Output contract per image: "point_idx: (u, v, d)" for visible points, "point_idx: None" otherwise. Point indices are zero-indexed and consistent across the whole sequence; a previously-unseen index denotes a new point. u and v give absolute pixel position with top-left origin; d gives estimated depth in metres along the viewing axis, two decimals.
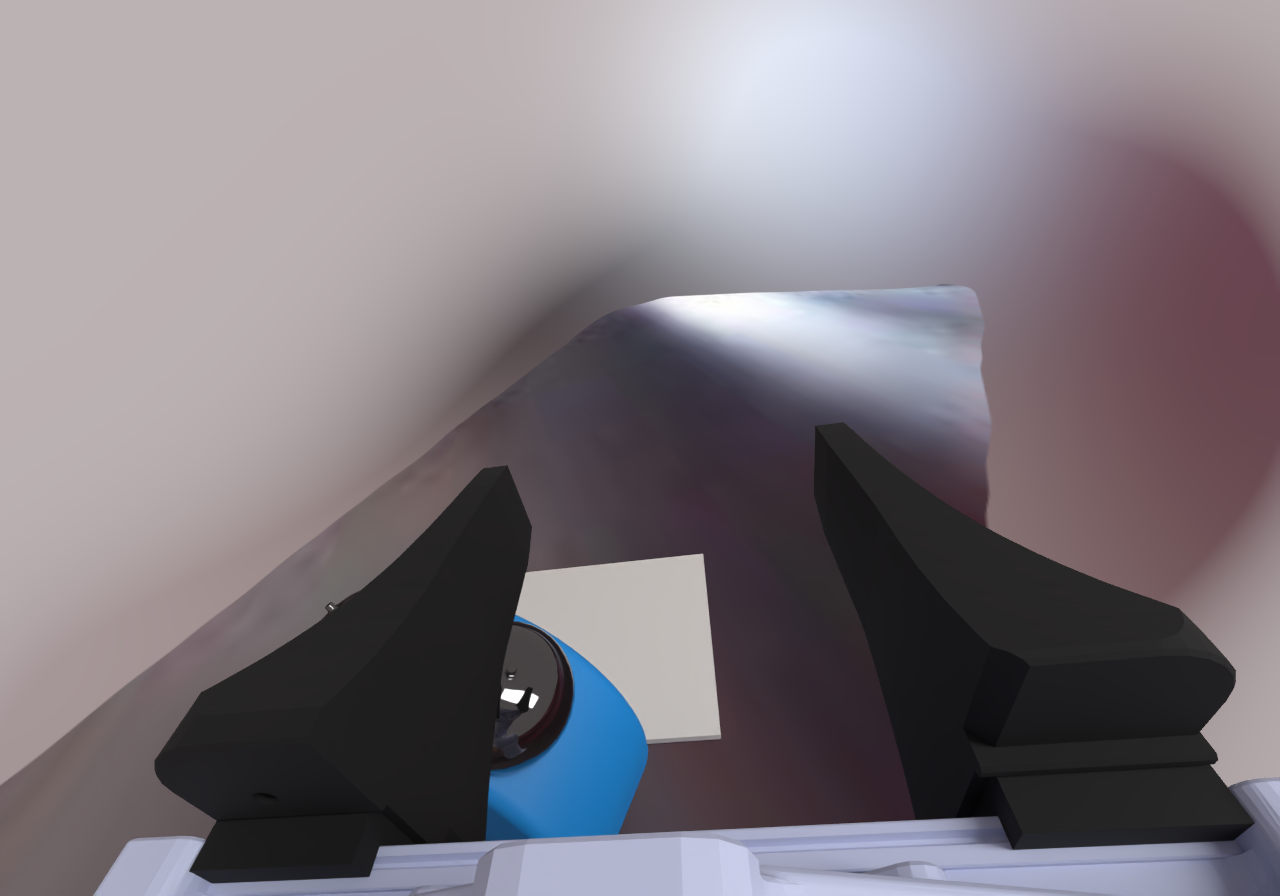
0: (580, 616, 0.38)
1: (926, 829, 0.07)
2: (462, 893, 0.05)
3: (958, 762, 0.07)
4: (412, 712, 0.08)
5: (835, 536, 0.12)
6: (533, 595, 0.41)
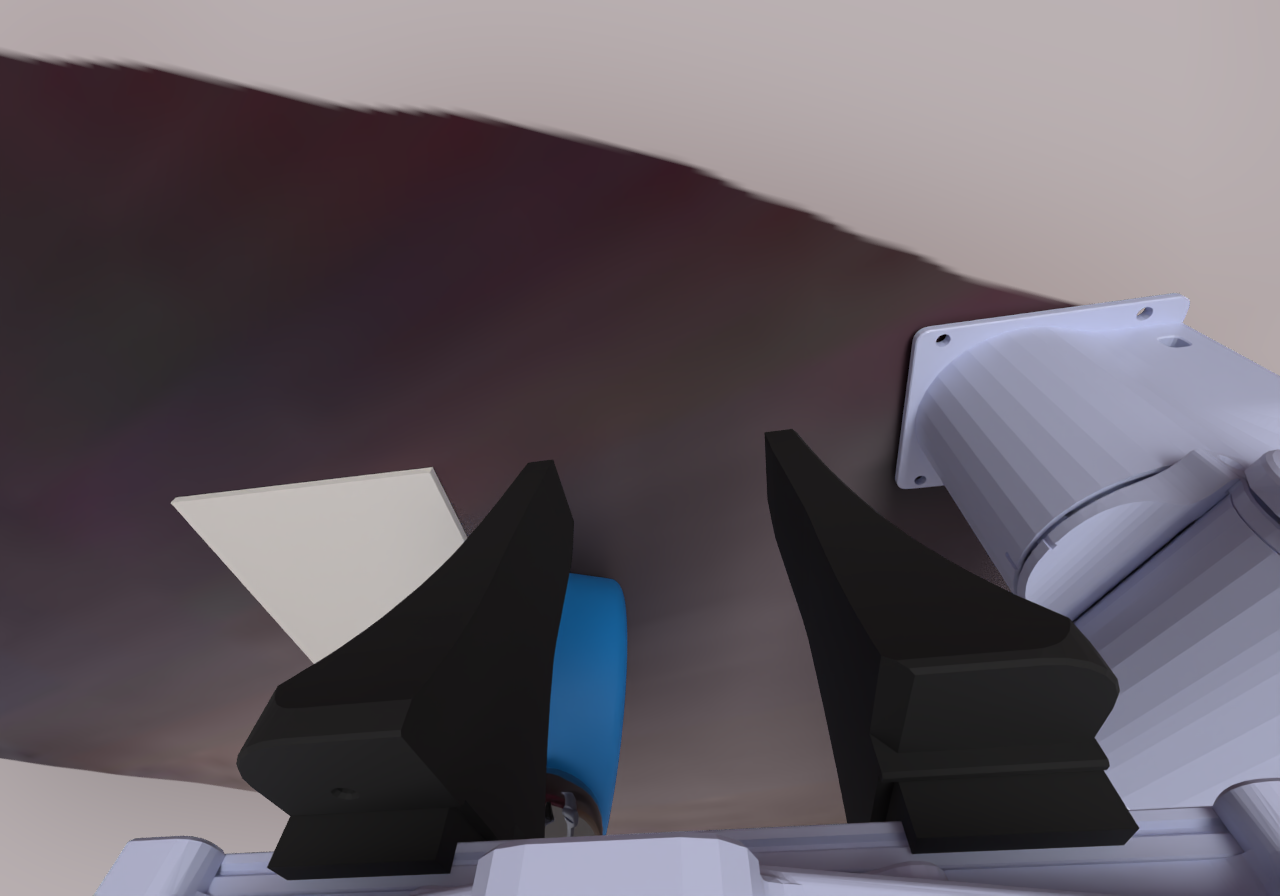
0: (343, 605, 0.32)
1: None
2: (462, 893, 0.05)
3: (868, 768, 0.07)
4: (483, 707, 0.08)
5: (782, 541, 0.12)
6: (336, 646, 0.35)
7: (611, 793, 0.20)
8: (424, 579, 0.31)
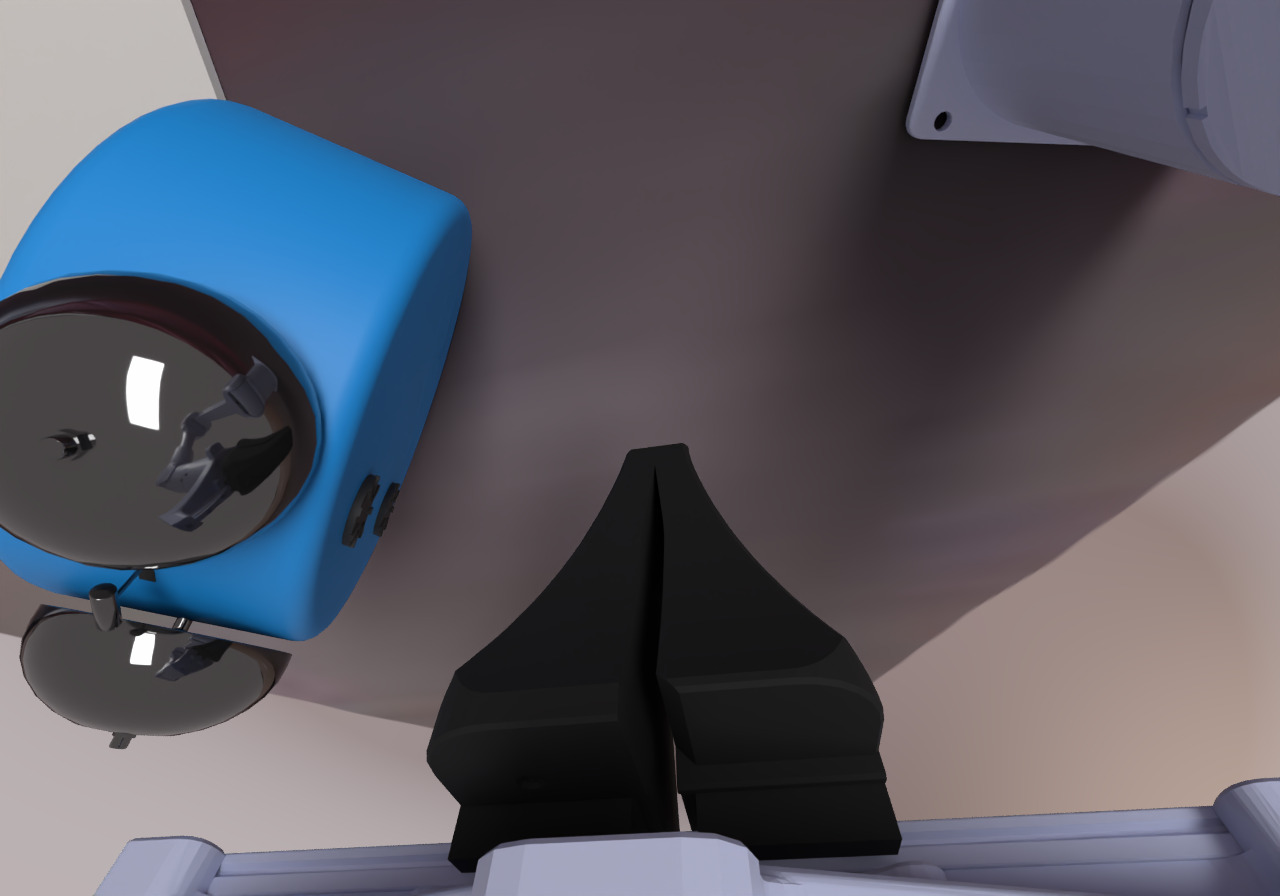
0: None
1: (926, 829, 0.07)
2: (462, 893, 0.05)
3: None
4: (646, 694, 0.08)
5: None
6: None
7: (355, 405, 0.11)
8: None
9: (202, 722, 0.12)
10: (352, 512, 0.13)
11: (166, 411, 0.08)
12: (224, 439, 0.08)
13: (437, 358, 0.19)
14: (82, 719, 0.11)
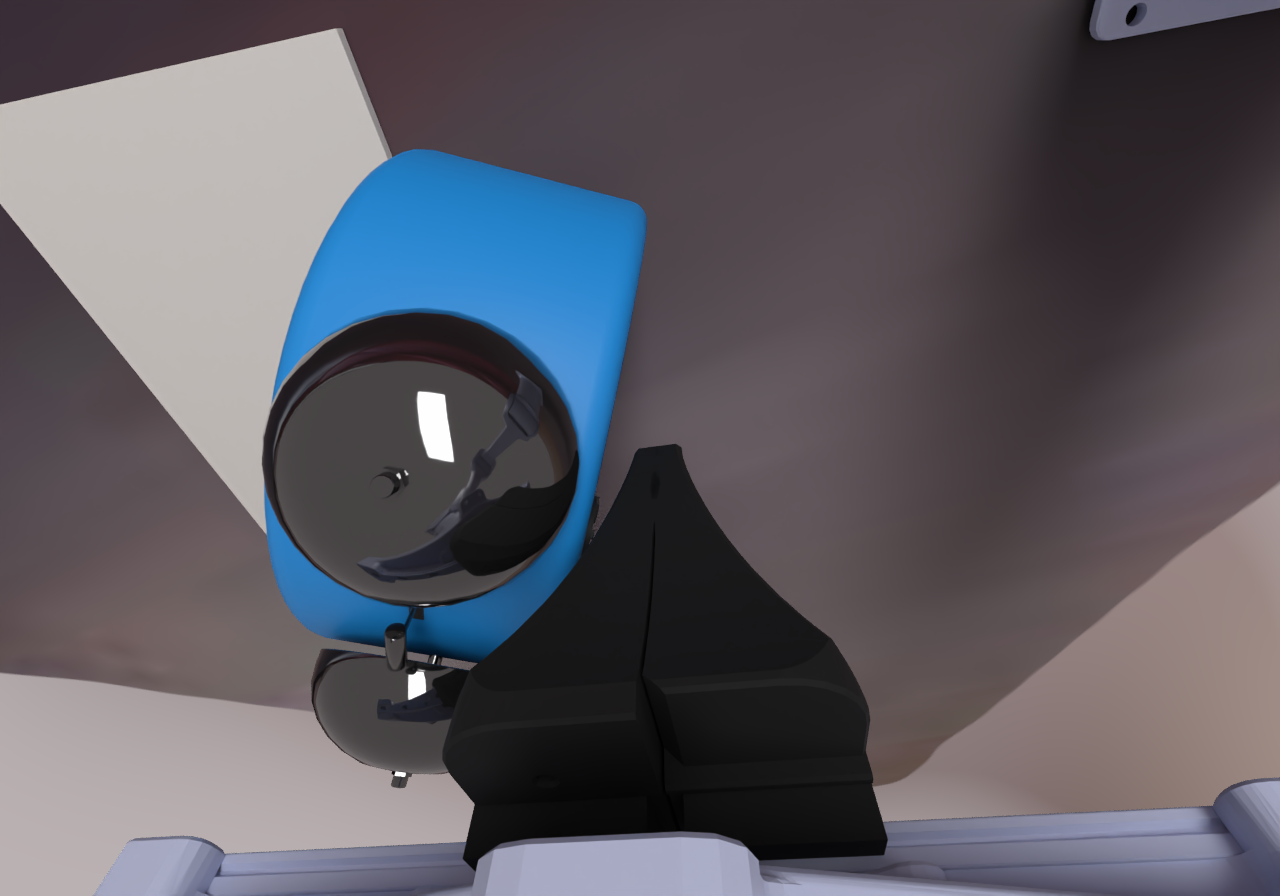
0: (235, 344, 0.22)
1: (926, 829, 0.07)
2: (462, 893, 0.05)
3: None
4: None
5: None
6: (236, 429, 0.25)
7: (603, 419, 0.10)
8: None
9: None
10: (585, 535, 0.12)
11: (471, 438, 0.07)
12: (519, 462, 0.08)
13: None
14: (373, 760, 0.11)
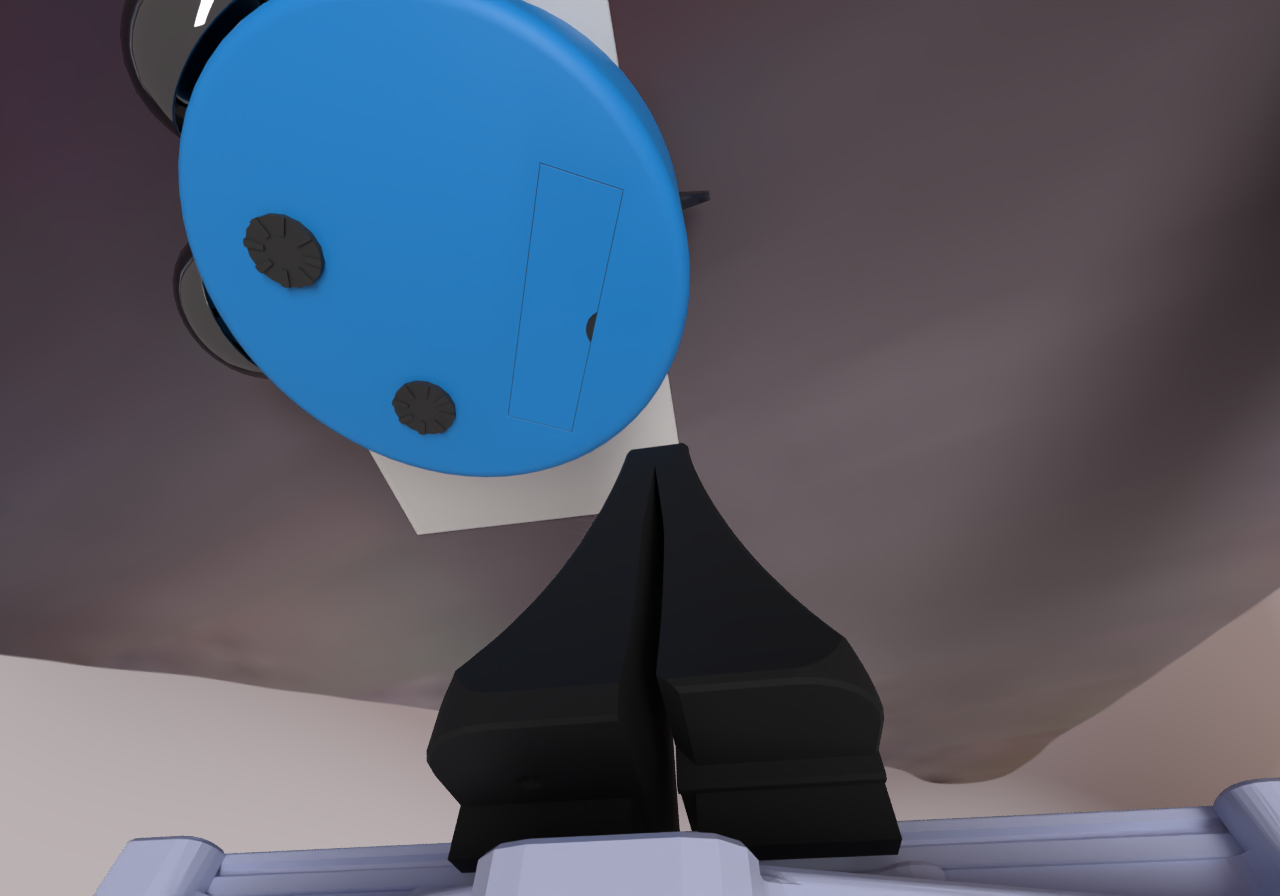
0: None
1: (926, 829, 0.07)
2: (462, 893, 0.05)
3: None
4: (646, 694, 0.08)
5: None
6: None
7: (221, 48, 0.12)
8: None
9: None
10: (255, 219, 0.14)
11: None
12: None
13: (574, 322, 0.15)
14: None
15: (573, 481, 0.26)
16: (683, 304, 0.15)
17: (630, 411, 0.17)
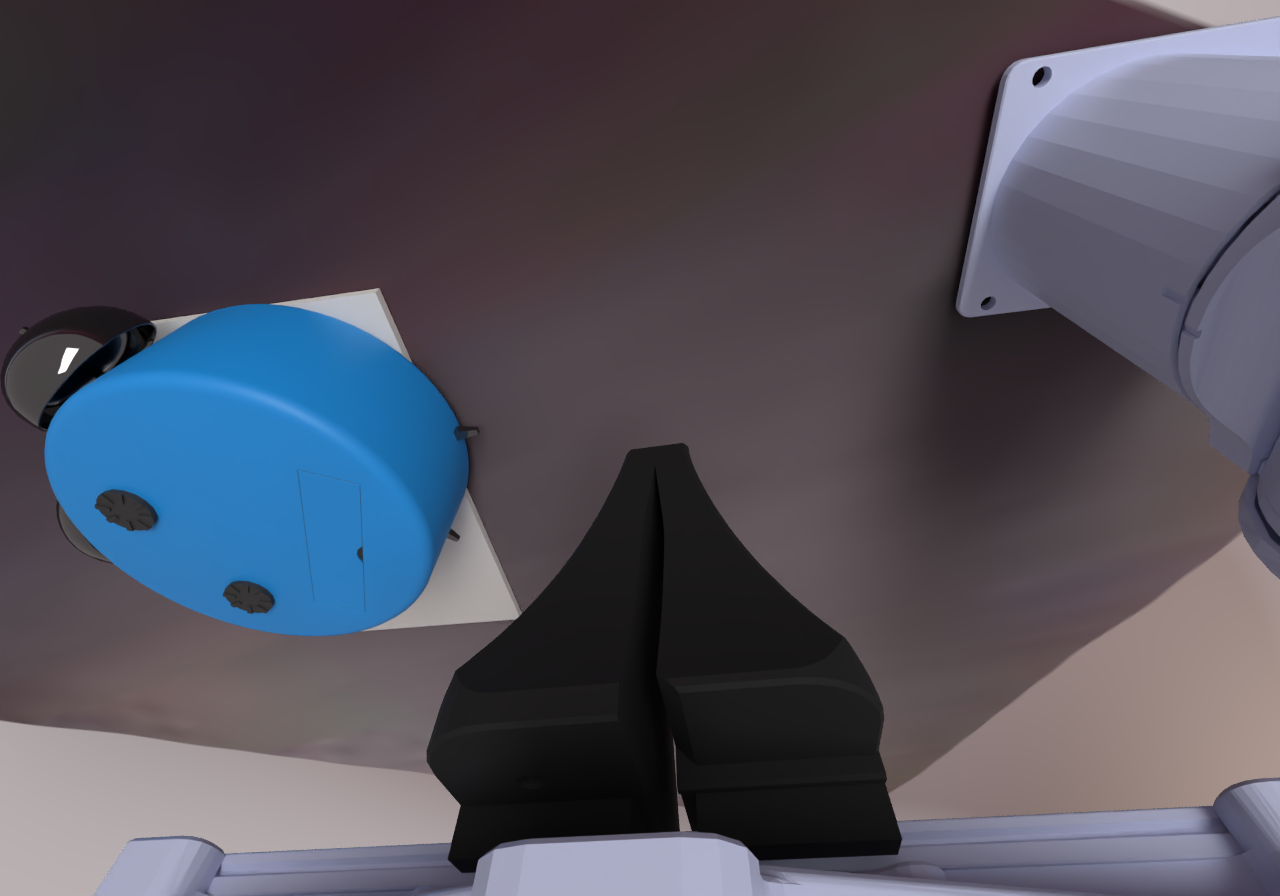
0: None
1: (926, 829, 0.07)
2: (462, 893, 0.05)
3: None
4: (646, 694, 0.08)
5: None
6: None
7: (65, 406, 0.17)
8: None
9: None
10: (102, 493, 0.19)
11: None
12: (8, 356, 0.17)
13: (347, 552, 0.21)
14: None
15: (422, 601, 0.32)
16: (425, 542, 0.20)
17: (406, 601, 0.22)
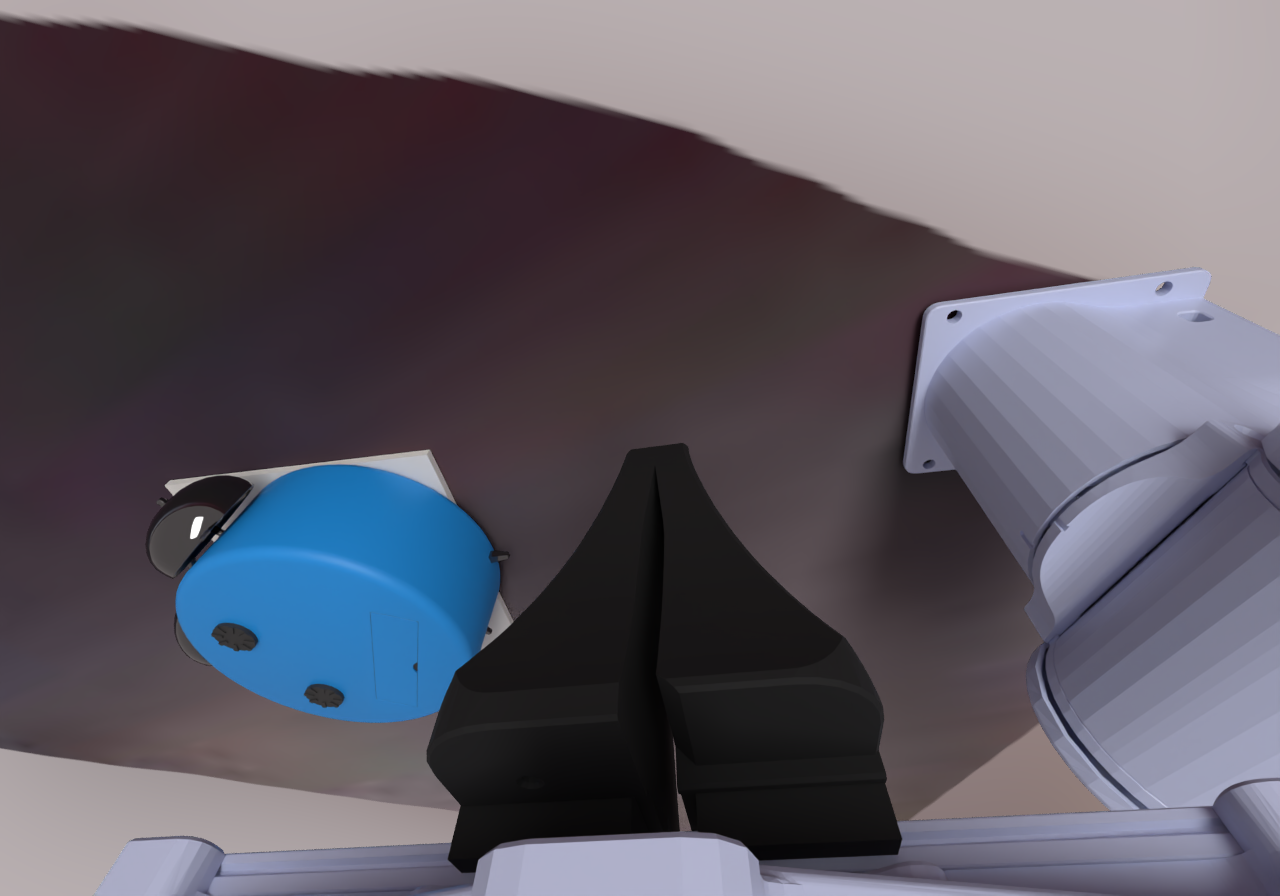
0: None
1: (926, 829, 0.07)
2: (462, 893, 0.05)
3: None
4: (646, 694, 0.08)
5: None
6: None
7: (197, 569, 0.22)
8: None
9: None
10: (217, 625, 0.24)
11: (160, 511, 0.23)
12: (153, 529, 0.23)
13: (405, 665, 0.26)
14: None
15: None
16: (467, 659, 0.25)
17: None
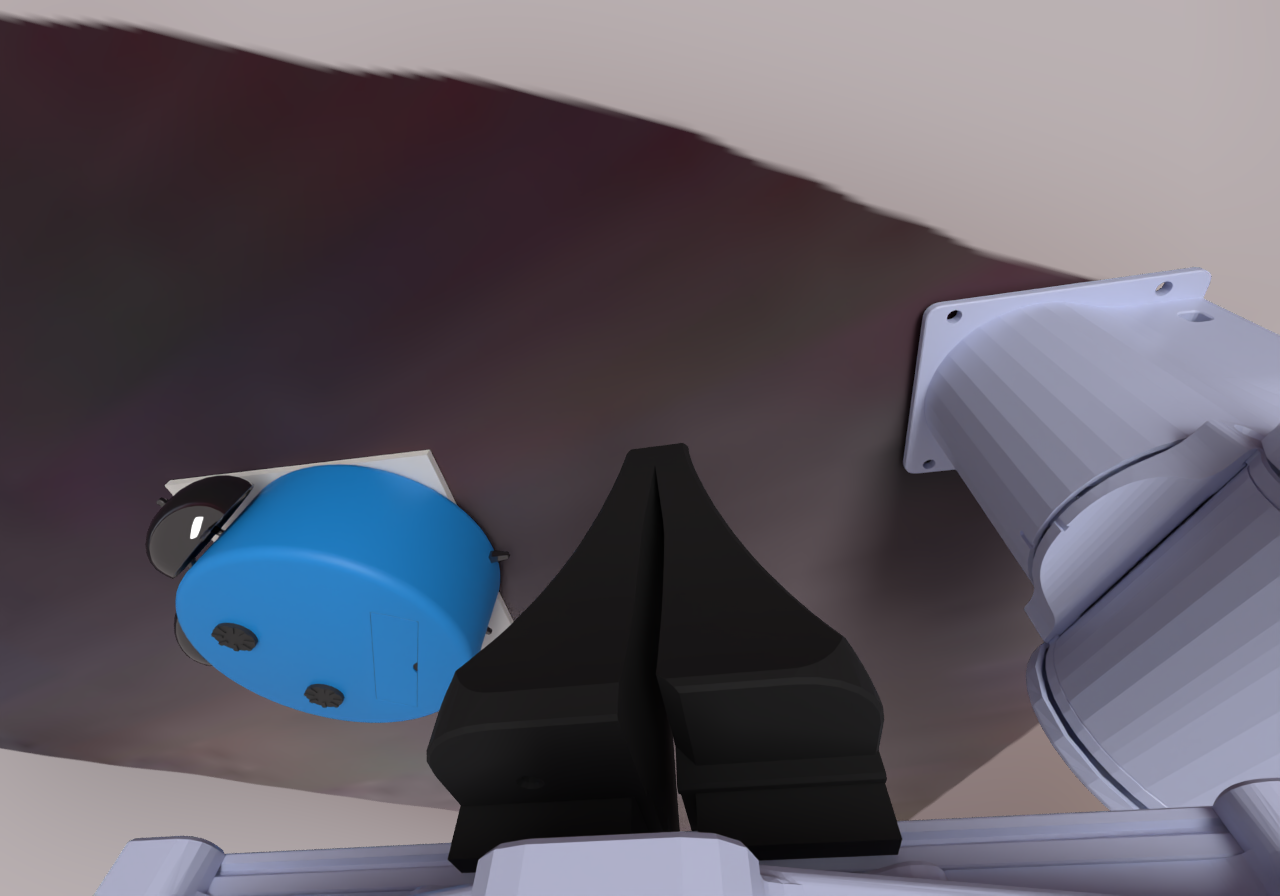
0: None
1: (926, 829, 0.07)
2: (462, 893, 0.05)
3: None
4: (646, 694, 0.08)
5: None
6: None
7: (197, 569, 0.22)
8: None
9: None
10: (217, 625, 0.24)
11: (160, 511, 0.23)
12: (153, 529, 0.23)
13: (405, 665, 0.26)
14: None
15: None
16: (467, 659, 0.25)
17: None
